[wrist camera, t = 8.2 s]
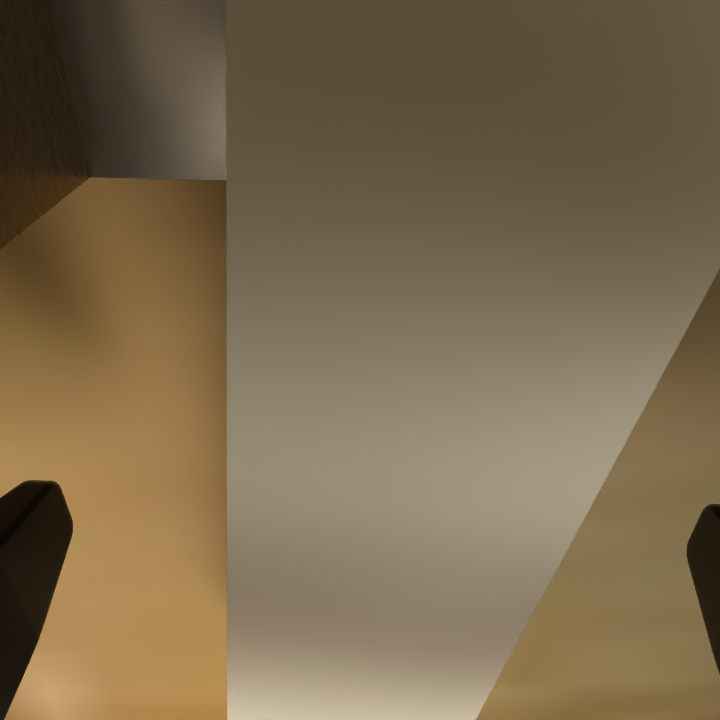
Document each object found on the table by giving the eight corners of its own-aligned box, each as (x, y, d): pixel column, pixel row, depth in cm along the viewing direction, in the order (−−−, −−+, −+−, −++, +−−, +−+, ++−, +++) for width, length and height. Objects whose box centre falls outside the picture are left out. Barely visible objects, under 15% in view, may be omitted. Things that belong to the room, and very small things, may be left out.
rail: (400, 654, 16) (404, 851, 12) (260, 640, 15) (227, 836, 12) (681, -194, 6) (1024, -293, 3) (314, -256, 6) (224, -438, 3)
